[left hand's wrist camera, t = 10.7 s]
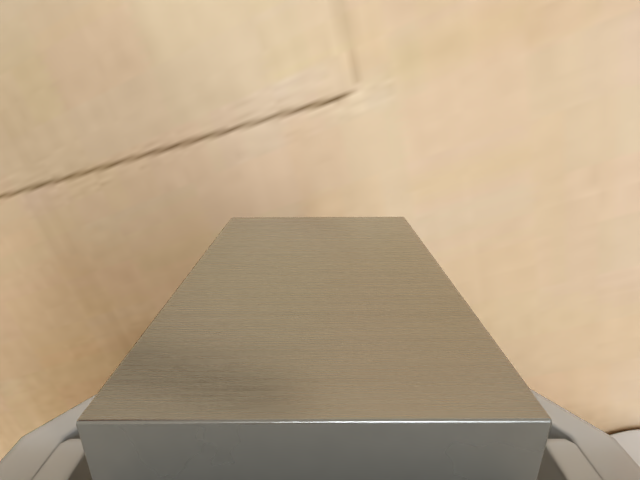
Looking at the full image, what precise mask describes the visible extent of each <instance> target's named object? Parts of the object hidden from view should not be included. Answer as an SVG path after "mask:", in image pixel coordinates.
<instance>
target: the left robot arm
mask: <svg viewBox="0 0 640 480" xmlns="http://www.w3.org/2000/svg"><path fill="white" fill-rule="evenodd" d="M530 390H531V389H530ZM531 392H532V393H533V394H534V396H535V397H536V398H537V400H538V401H539V403H540V404H541V405H542V407H543V408H544V409H545V411H546V412H547V414H548V415H549V416H550V418H551V420H552V424H551V428H550V432H549V436H548V439H547V443H546V447H545V450H544V454H543V458H542V461H541V465H540V469H539V473H538V476H537V480H640V429H636V430H629V431H624V432H619V433H615V434H612V435H608V434H607V433H605V432H603V431H602V430H600V429H598V428H596V427H595V426H593V425H591V424H590V423H588V422H586V421H584V420H583V419H581V418H579V417H577V416H576V415H574V414H572V413H571V412H569V411H567V410H565V409H564V408H562V407H560V406H559V405H557V404H555V403H553V402H552V401H550V400H548V399H546V398H545V397H543V396H541V395H540V394H538V393H536V392H534V391H533V390H531ZM96 395H97V394H96ZM96 395H94V396H93V397H91V398H89V399H87V400H86V401H84V402H82V403H80V404H79V405H77V406H75V407H73V408H72V409H70V410H68V411H66V412H65V413H63V414H61V415H59V416H58V417H56V418H54V419H52V420H51V421H49V422H47V423H46V424H44V425H42V426H40V427H39V428H37V429H35V430H33V431H32V432H30V433H28V434H26V435H25V436H23V437H21V439H20V440H19V441H18V442H17V443H16V444H15V445H14V446H13V448H12V449H11V450H10V451H9V452H8V453H7V454H6V455H5V456H4V458H3V459H2V460H1V461H0V480H92V477H91V473H90V470H89V467H88V463H87V460H86V457H85V453H84V450H83V447H82V443H81V440H80V436H79V433H78V430H77V426H76V422H77V420H78V418H79V417H80V416H81V414H82V413H83V412H84V410H85V409H86V408H87V407H88V405H89V404H90V403H91V401H92V400H93V399H94V397H95V396H96Z"/></svg>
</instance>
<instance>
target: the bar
mask: <svg viewBox="0 0 640 480" xmlns="http://www.w3.org/2000/svg"><path fill="white" fill-rule="evenodd" d="M551 424H552V420H551V418H550V416H549V415H548V414H547V412H546V411H545V409H544V408H543V407H542V405H541V404H540V403H539V401H538V400H537V398H536V397H535V396H534V394H533V393H532V392H531V390H530V389H529V388H528V386H527V385H526V383H525V382H524V381H523V379H522V378H521V377H520V375H519V374H518V372H517V371H516V370H515V368H514V367H513V366H512V364H511V363H510V362H509V360H508V359H507V357H506V356H505V355H504V353H503V352H502V351H501V349H500V348H499V346H498V345H497V344H496V342H495V341H494V340H493V338H492V337H491V336H490V334H489V333H488V331H487V330H486V329H485V327H484V326H483V325H482V323H481V322H480V320H479V319H478V318H477V316H476V315H475V314H474V312H473V311H472V310H471V308H470V307H469V305H468V304H467V303H466V301H465V300H464V299H463V297H462V296H461V294H460V293H459V292H458V290H457V289H456V288H455V286H454V285H453V283H452V282H451V281H450V279H449V278H448V277H447V275H446V274H445V273H444V271H443V270H442V268H441V267H440V266H439V264H438V263H437V262H436V260H435V259H434V257H433V256H432V255H431V253H430V252H429V251H428V249H427V248H426V247H425V245H424V244H423V242H422V241H421V240H420V238H419V237H418V236H417V234H416V233H415V231H414V230H413V229H412V227H411V226H410V225H409V223H408V222H407V221H406V219H405V218H404V217H304V218H231V219H230V221H229V222H228V223H227V225H226V226H225V227H224V228H223V230H222V231H221V232H220V234H219V235H218V236H217V238H216V239H215V240H214V242H213V243H212V244H211V245H210V247H209V248H208V249H207V251H206V252H205V253H204V255H203V256H202V257H201V259H200V260H199V261H198V263H197V264H196V265H195V266H194V268H193V269H192V270H191V272H190V273H189V274H188V276H187V277H186V278H185V280H184V281H183V282H182V283H181V285H180V286H179V287H178V289H177V290H176V291H175V293H174V294H173V295H172V297H171V298H170V299H169V300H168V302H167V303H166V304H165V306H164V307H163V308H162V310H161V311H160V312H159V314H158V315H157V316H156V317H155V319H154V320H153V321H152V323H151V324H150V325H149V327H148V328H147V329H146V331H145V332H144V333H143V335H142V336H141V337H140V338H139V340H138V341H137V342H136V344H135V345H134V346H133V348H132V349H131V350H130V352H129V353H128V354H127V355H126V357H125V358H124V359H123V361H122V362H121V363H120V365H119V366H118V367H117V369H116V370H115V371H114V372H113V374H112V375H111V376H110V378H109V379H108V380H107V382H106V383H105V384H104V386H103V387H102V388H101V390H100V391H99V392H98V393H97V395H96V396H95V397H94V399H93V400H92V401H91V403H90V404H89V405H88V407H87V408H86V409H85V410H84V412H83V413H82V414H81V416H80V417H79V418H78V420H77V422H76V426H77V430H78V433H79V436H80V440H81V443H82V447H83V450H84V453H85V457H86V460H87V463H88V467H89V470H90V473H91V477H92V480H537V476H538V473H539V469H540V465H541V461H542V458H543V454H544V450H545V447H546V443H547V439H548V436H549V432H550V428H551Z"/></svg>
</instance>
